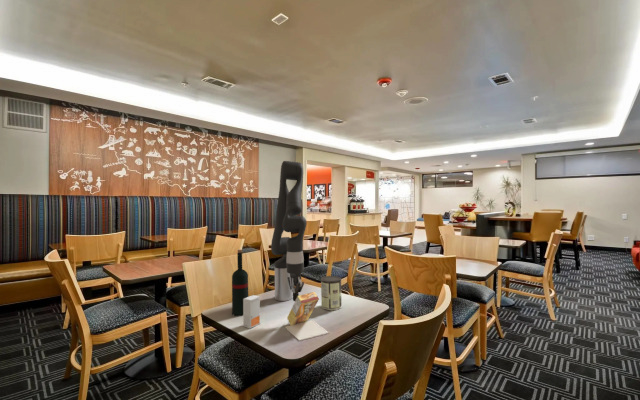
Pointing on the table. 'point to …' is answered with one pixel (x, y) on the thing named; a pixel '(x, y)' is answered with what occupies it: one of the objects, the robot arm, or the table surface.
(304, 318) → the candy box
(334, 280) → the coffee can
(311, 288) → the table surface
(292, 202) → the robot arm
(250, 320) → the skincare box
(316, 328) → the mat
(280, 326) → the table surface
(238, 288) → the wine bottle
